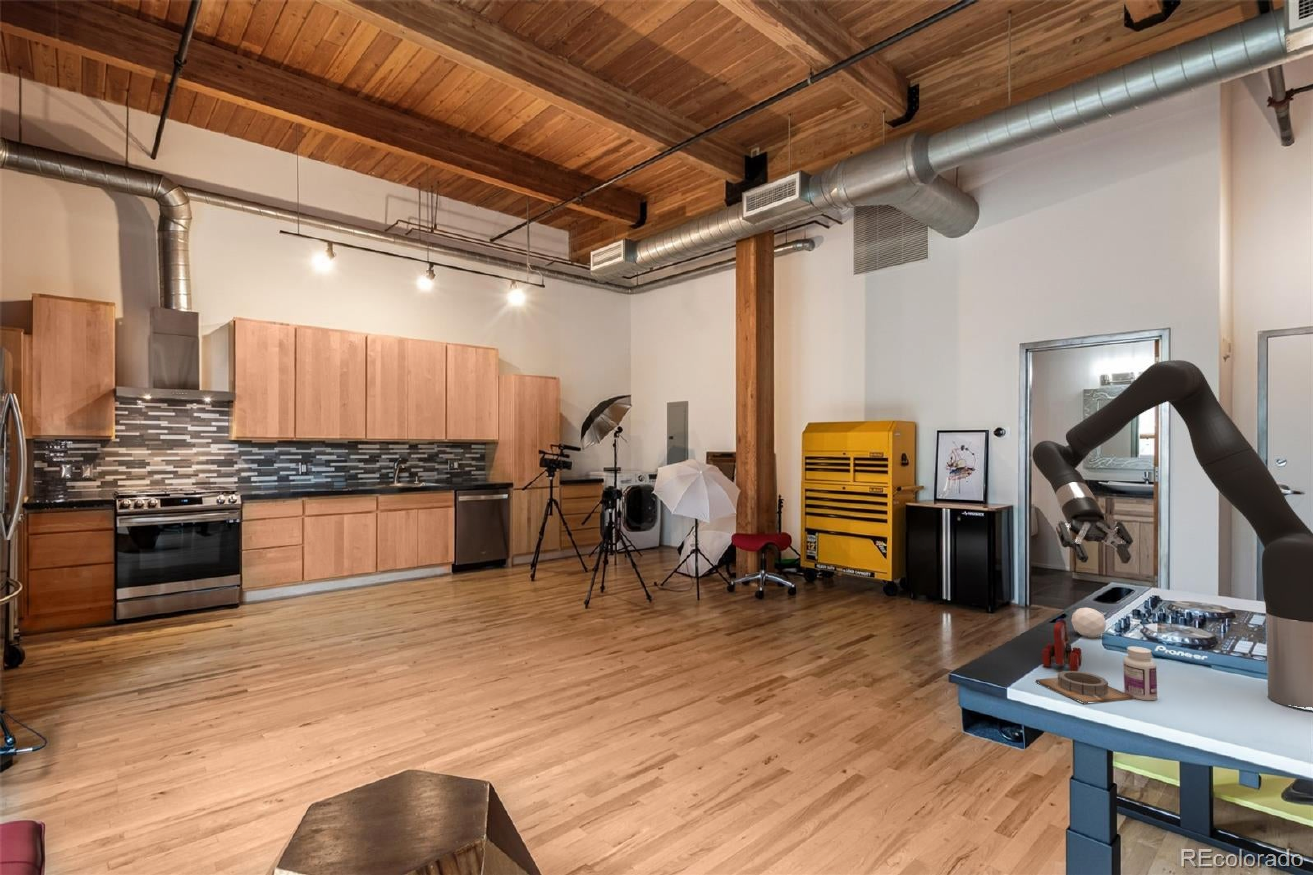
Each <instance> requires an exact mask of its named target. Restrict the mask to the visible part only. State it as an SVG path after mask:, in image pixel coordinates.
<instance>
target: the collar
mask: <svg viewBox="0 0 1313 875" xmlns="http://www.w3.org/2000/svg"><path fill="white" fill-rule="evenodd" d="M1036 682H1039V683H1040V684H1042V685H1044V686H1046V687H1045V688H1047V687H1049V688H1050V689H1049V688H1048V689H1049V690H1051V689H1052V690H1051V691H1053V690H1054V691H1053V692H1055V691H1057V692H1059V693H1058V694H1060V693H1061V694H1060V695H1061V696H1064V697H1066V696H1068V697H1071V698H1073V699H1076V700H1079V701H1081V702H1083V703H1088V702H1102V703H1109V701H1111V702H1117V701H1116V700H1120V701H1127V700H1128V701H1129V700H1133V699H1134V698H1133V696H1131V695H1129V694H1127V693H1125V691H1122V690H1119V689H1117V688H1114V687H1112V686H1109V683H1108V680H1107V679H1106V678H1104V677H1101V676H1099V675H1098V674H1097V675H1096V674H1095V673H1094V674H1093V673H1089V672H1084V671H1080V670H1078V671H1070V670H1063V671H1060V672H1058V673H1057V677H1051V678H1049V677H1048V678H1040V679H1039V678H1038V679H1035V683H1036ZM1040 684H1039V685H1040ZM1042 685H1041V686H1042ZM1044 686H1043V687H1044ZM1057 692H1056V693H1057ZM1068 697H1067V698H1068ZM1073 699H1072V700H1073ZM1107 701H1108V702H1107Z"/></svg>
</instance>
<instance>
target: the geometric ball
mask: <svg viewBox="0 0 1313 875" xmlns="http://www.w3.org/2000/svg"><path fill="white" fill-rule="evenodd" d="M1071 624H1072V627H1073V629H1074V630H1075V631H1076V632H1077V633H1078V634H1080V636H1081V635H1082V636H1083V637H1087V636H1088V638H1090V637H1091V638H1090V639H1092V638H1097V637H1100V636H1101V635H1102V634H1104V632H1106V628H1107V622H1106V619H1105V616H1104V614H1102V613H1101V612H1099V611H1098V610H1096V609H1094V608H1092V607H1091V608H1090V607H1080V608H1077V609H1076V610H1075V611H1074V612H1073V613H1072V616H1071Z"/></svg>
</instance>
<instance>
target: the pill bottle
mask: <svg viewBox="0 0 1313 875" xmlns="http://www.w3.org/2000/svg"><path fill="white" fill-rule="evenodd" d="M1126 654H1127V656H1126V657H1124V659H1123V662H1122V663H1123V683H1124V688H1123V689H1124V693H1127V694H1129V695H1131V696H1133V699H1135V700H1136V699H1137V700H1141V701H1154V700H1156V699H1158V680H1157V676H1158V675H1157V663H1156V662H1155V661H1154V660H1152V659H1151V658H1152V650H1151V649H1149V648H1145V647H1142V646H1133V645H1132V646H1128V647H1127V648H1126Z"/></svg>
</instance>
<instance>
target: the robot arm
mask: <svg viewBox="0 0 1313 875" xmlns="http://www.w3.org/2000/svg"><path fill="white" fill-rule="evenodd" d="M1167 402H1168V403H1170V405H1171V406H1172V407H1173V408H1174V409H1175V411H1176V413H1178V415H1179V416H1180V418H1181V419H1182V420H1183V423H1185V425H1186V428H1187V430H1188V434H1189V437H1190V441H1191V445H1192V449H1193V453H1194V455H1195V458H1196V460H1197V462H1198V464H1199V465H1200V467H1201V469H1202V470H1203V471H1204V473H1205V474H1206V476H1207V477H1208V478H1209V480H1210V482H1211V483H1212V484H1213V485H1214V487H1215V488H1216V489H1217V490H1218V492H1219V493H1221V495H1222V496H1223V497H1224V499H1226V500H1227V502H1229V503H1230V504H1231V505H1232V506H1233V507H1235V509H1236V510H1237V511H1239V513H1241V514H1242V516H1243V517H1244V518H1245V519H1246V520H1247V521H1248V524H1250V526H1251V527H1252V528H1253V530H1254V532H1255V534H1256V535H1257V537H1258V539H1259V540H1260V542H1261V544H1262V546H1263V548H1264V549H1263V552H1262V556H1261V574H1262V576H1261V577H1262V595H1263V600H1264V604H1265V605H1264V606H1265V627H1266V628H1265V629H1266V632H1265V633H1266V634H1265V636H1266V670H1267V671H1266V672H1267V675H1266V676H1267V698H1269V699H1270V700H1271V701H1273V702H1276V703H1278V704H1279V705H1280V704H1281V705H1283V706H1286V705H1291V706H1297V707H1304V708H1306V707H1312V708H1313V532H1312V531H1311V529H1310V528H1309V527H1308V526H1307V525H1306V524H1305V522H1303V520H1302V519H1301V518H1300V517H1299V516H1298V515H1297V513H1296V512H1295V511H1294V509H1293V508H1292V506H1291V505H1290V504H1289V502H1288V501H1287V498H1286V497H1285V495H1284V494H1283V492H1282V489H1281V488H1280V486H1279V485H1278V483H1277V481H1276V480H1275V478H1274V477H1273V475H1272V474H1271V472H1270V470H1269V469H1268V467H1267V466H1266V464H1265V463H1264V461H1263V460H1262V458H1261V457H1260V455H1259V454H1258V453H1257V452H1256V450H1255V449H1254V448H1253V446H1252V445H1251V443H1249V441H1248V440H1247V439H1246V437H1245V435H1243V433H1242V431H1241V430H1240V429H1239V428H1238V426H1237V425H1236V424H1235V422H1234V421H1233V420H1232V419H1231V418H1230V416H1229V415H1228V414H1227V413H1226V411H1225V410H1224V408H1223V407H1222V406H1221V404H1220V402H1219V401H1218V398H1217V397H1216V396H1215V393H1214V391H1213V390H1212V387H1211V386H1210V384H1209V382H1208V381H1207V378H1206V377H1205V375H1204V374H1203V372H1202V370H1201V369H1200V368H1199V367H1198V365H1197V366H1196V365H1195V364H1194V363H1192V362H1190V361H1187V360H1180V359H1176V360H1175V359H1174V360H1162V361H1158V362H1156V363H1154V364H1152V365H1150V366H1149V367H1148V368H1146V369H1145V370H1144V371H1143V372H1142V373H1141V374H1140V375H1139V376H1138V377H1136V379H1134V381H1132V382H1131V384H1129V385H1128V387H1126V388H1125V389H1124V390H1123V391H1121V393H1119V394H1118V395H1117V396H1116V397H1114V399H1112V400H1110V402H1108V403H1106V404H1105V405H1104V406H1102V407H1101V408H1099V409H1098V410H1097V411H1095V412H1094V413H1093V414H1090V415H1089V416H1088V417H1086V418H1085V419H1083V420H1082V421H1080V422H1079V423H1078V424H1076V425H1074V426H1073V427H1071V428H1070V429H1069V430H1068V431H1067V432H1066V434H1065V440H1066V442H1067V444H1068V445H1062V444H1060V443H1058V442H1055V441H1053V440H1052V441H1051V440H1043V441H1040V442H1038V443H1037V444H1035V446H1034V447H1033V449H1032V460H1033V463H1034V465H1035V466H1036V468H1037V469H1038V471H1039V472H1040V473H1041V474H1042V476H1043V477H1044V478H1045V479H1046V480H1047V481H1048V482H1049V483H1050V485H1051V488H1052V490H1053V492H1054V494H1055V496H1056V500H1057V503H1058V506H1059V508H1060V510H1061V512H1062V514H1063V516H1064V519H1065V520H1066V522H1064V521H1063V520H1060V521H1058V524H1057V526H1056V527H1055V529H1056V530H1055V531H1056V532H1057V536H1058V538H1059V540H1060V543H1061V544H1060V545H1061V546H1062V547H1063V548H1070V549H1071V550H1073V551H1074V554H1075V556H1076V558H1077V559H1078V560H1079V561H1080V562H1081V563H1082V564H1083V563H1087V561H1088V560H1089V555H1088V553H1087V551H1086V548H1085V546H1084V544H1081V543H1082V541H1086V543H1087V542H1089V543H1090V542H1096V543H1097V542H1098V543H1101V542H1102V543H1103V544H1105V545H1106V546H1111V547H1112V548H1114V549H1115V550H1116V551H1115V552H1116V553H1117V555H1118V557H1119V559H1120V561H1121V563H1122V564H1125V565H1127V564H1128V563H1129V562H1130V561H1131V558H1132V555H1131V553H1130V551H1129V550H1128V549H1129V548H1130V547H1131V545H1132V544H1133V543H1134V539H1133V538H1132V536H1131V535H1130V532H1129V531H1128V530H1127V528H1126V526H1125V524H1124V523H1123V522H1121V521H1117V522H1116V523H1113V524H1111V523H1109V522H1107V521H1106V520H1105V517H1104V516H1105V515H1104V513H1103V511H1102V509H1101V508H1100V505H1099V503H1098V501H1097V500H1096V499H1097V498H1095V496H1094V493H1092V490H1090V488H1089V487H1088V485H1087V483H1086V481H1085V479H1084V478H1083V475H1082V474H1081V473H1080V471H1079V470H1078V469H1077V467H1078V466H1079V465H1080V464H1081V463H1082V462H1083V461H1084V460H1085V458H1086V457H1088V455H1090V453H1091V452H1092V451H1093V450H1095V449H1096V448H1098V447H1100V446H1102V445H1104V443H1106V442H1108V441H1109V440H1110V439H1112V438H1114V436H1116V435H1117V434H1118V433H1120V432H1121V431H1122V429H1124V428H1125V427H1126V426H1127V425H1128V424H1129V423H1130V422H1131V421H1133V420H1134V419H1136V418H1137V417H1138V416H1140V415H1141V414H1144V413H1145V412H1147V411H1150V410H1151V409H1153V408H1155V407H1158V406H1160V405H1163V404H1164V403H1167ZM1069 531H1070V532H1071V533H1072V534H1075V535H1076V537H1075V539H1072V538H1071V536H1070V533H1069ZM1107 536H1109V538H1107Z"/></svg>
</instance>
